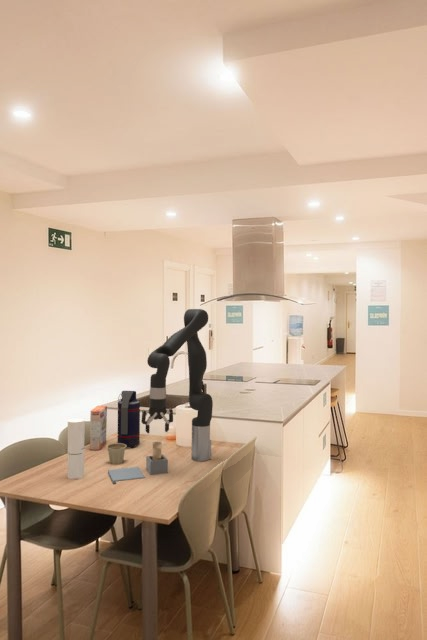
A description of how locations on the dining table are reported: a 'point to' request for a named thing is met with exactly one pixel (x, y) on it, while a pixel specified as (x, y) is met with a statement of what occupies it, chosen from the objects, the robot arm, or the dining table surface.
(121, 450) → the flower pot
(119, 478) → the board
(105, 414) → the cracker box
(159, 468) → the grey open box
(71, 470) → the cylindrical container
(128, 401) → the grenade
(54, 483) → the dining table surface
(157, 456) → the dowel
